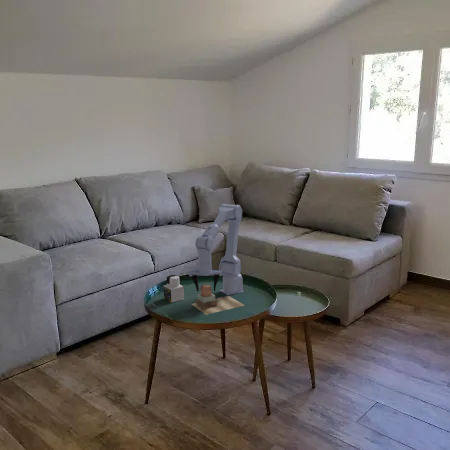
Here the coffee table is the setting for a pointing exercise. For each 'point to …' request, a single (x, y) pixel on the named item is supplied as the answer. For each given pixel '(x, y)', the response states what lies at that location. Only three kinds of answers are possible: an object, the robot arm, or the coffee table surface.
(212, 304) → the tower base
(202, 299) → the tower top
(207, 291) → the cylinder
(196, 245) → the robot arm
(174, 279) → the medicine bottle
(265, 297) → the coffee table surface
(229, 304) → the board
